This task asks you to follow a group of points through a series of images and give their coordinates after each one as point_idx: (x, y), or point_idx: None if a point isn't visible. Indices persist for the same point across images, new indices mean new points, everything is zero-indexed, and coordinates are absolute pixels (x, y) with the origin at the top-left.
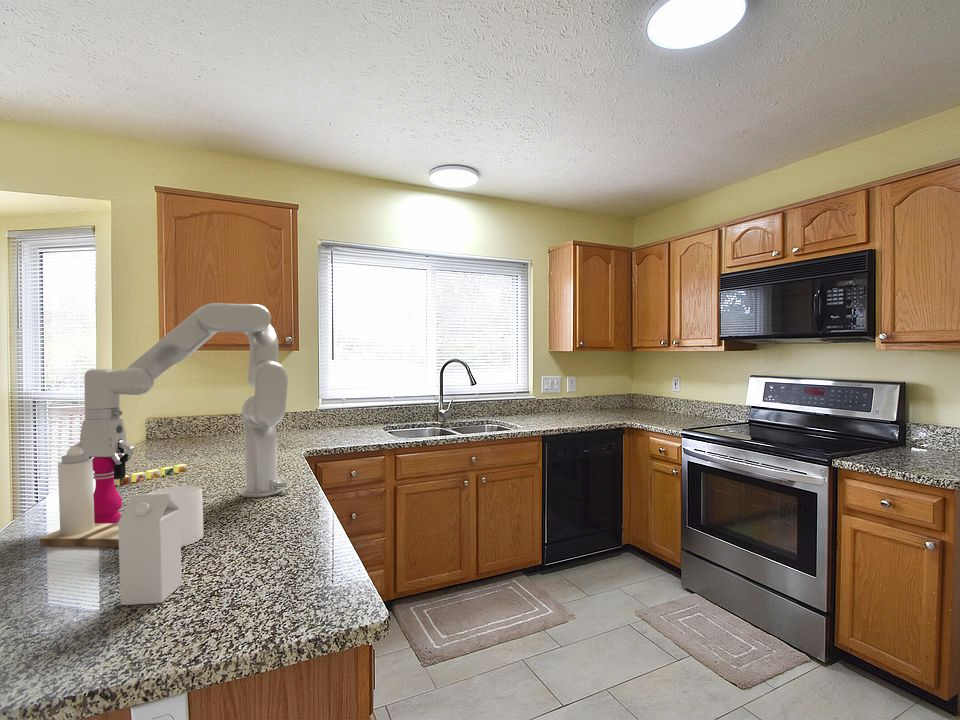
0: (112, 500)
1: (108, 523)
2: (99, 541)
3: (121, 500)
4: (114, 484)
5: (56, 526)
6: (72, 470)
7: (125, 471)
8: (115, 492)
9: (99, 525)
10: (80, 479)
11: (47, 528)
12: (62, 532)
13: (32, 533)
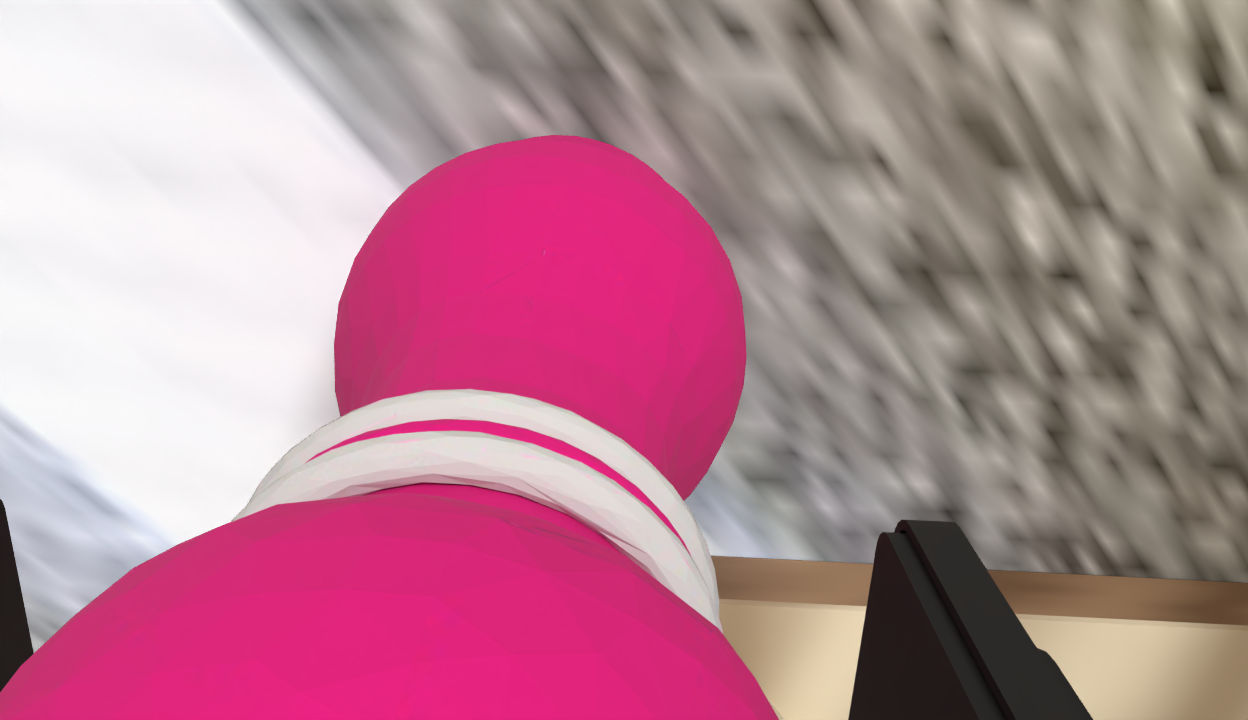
0: (713, 459)
1: (842, 612)
2: None
3: (725, 272)
4: (660, 442)
5: (110, 411)
6: None
7: (1066, 681)
8: (699, 413)
9: (786, 662)
10: None
11: (76, 465)
12: None
13: (78, 588)
